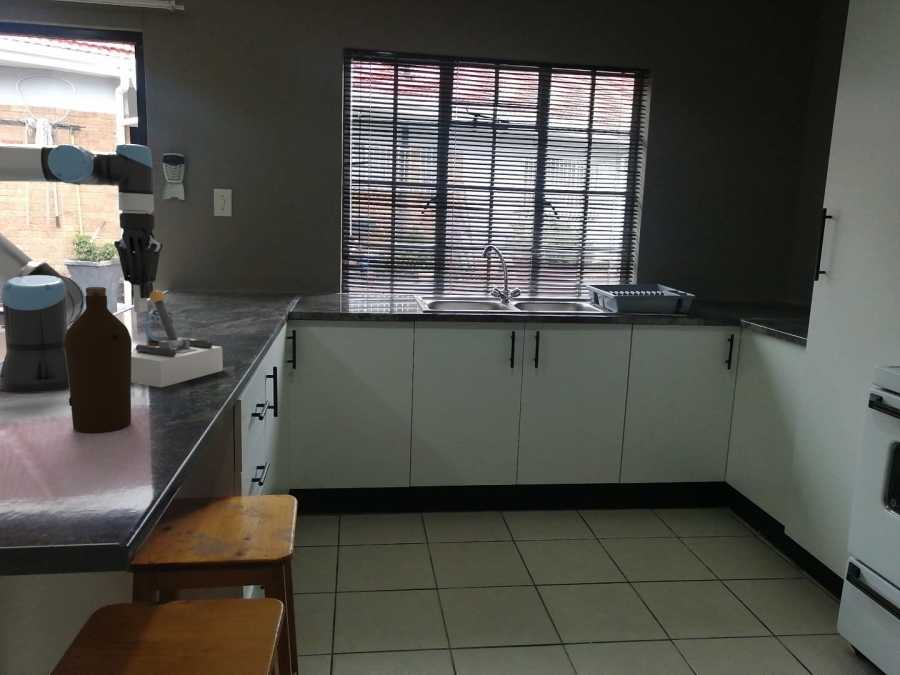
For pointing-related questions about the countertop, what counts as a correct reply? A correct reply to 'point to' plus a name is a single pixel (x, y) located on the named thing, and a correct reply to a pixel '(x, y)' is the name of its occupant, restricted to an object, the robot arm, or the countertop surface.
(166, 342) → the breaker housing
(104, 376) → the olive oil
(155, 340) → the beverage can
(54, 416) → the countertop surface
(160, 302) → the lever
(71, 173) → the robot arm
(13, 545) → the countertop surface
